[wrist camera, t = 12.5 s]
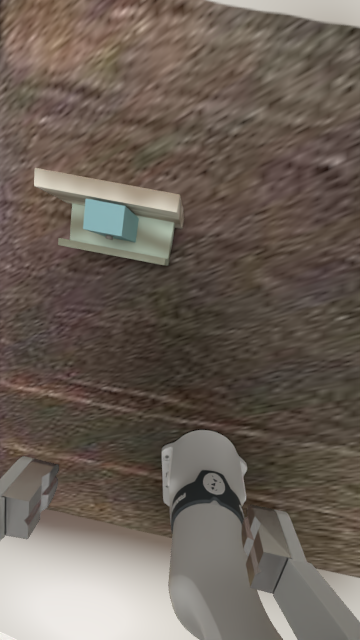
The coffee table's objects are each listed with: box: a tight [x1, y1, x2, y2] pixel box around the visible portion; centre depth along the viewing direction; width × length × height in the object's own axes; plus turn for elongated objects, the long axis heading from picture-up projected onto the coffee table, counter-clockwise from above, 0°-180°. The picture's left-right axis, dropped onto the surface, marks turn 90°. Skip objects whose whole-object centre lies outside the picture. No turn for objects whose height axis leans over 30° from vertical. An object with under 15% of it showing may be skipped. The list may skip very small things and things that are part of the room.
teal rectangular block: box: [83, 199, 139, 243], centre depth 31 cm, size 4×5×7 cm
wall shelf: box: [34, 168, 184, 266], centre depth 34 cm, size 8×18×12 cm, turn 79°
